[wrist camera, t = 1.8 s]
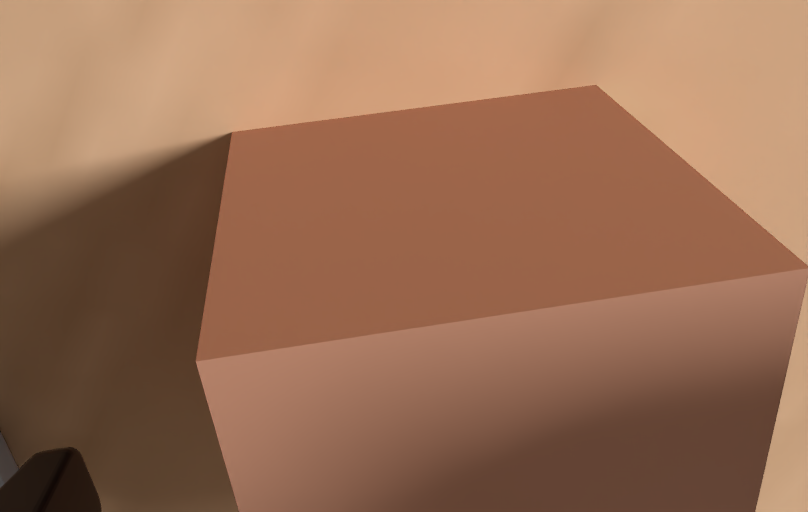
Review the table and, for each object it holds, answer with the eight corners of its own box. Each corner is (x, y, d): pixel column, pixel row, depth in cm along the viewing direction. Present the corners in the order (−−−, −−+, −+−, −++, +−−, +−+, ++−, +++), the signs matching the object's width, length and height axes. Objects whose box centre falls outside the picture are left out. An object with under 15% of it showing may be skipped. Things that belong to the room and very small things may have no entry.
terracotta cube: (581, 364, 13) (727, 633, 9) (292, 410, 13) (297, 714, 8) (594, 83, 10) (809, 268, 6) (232, 130, 10) (194, 361, 6)
